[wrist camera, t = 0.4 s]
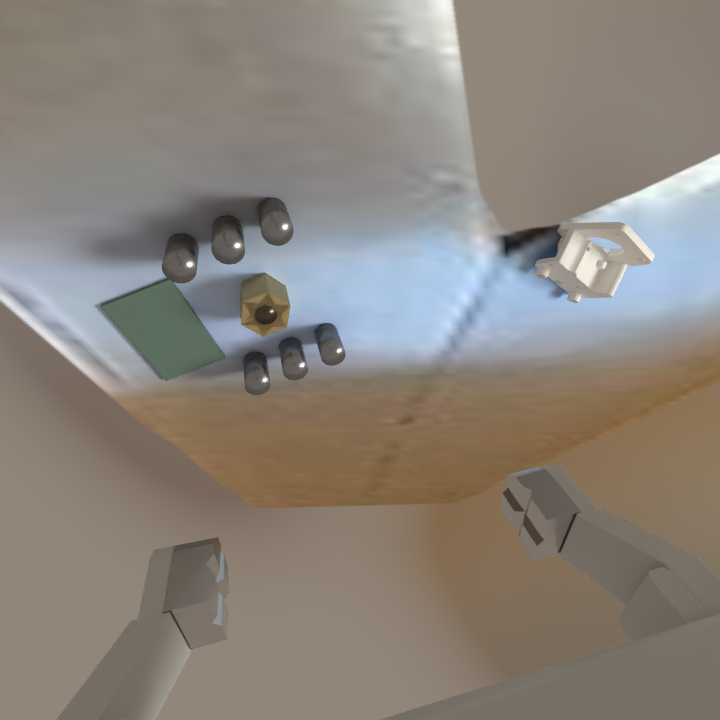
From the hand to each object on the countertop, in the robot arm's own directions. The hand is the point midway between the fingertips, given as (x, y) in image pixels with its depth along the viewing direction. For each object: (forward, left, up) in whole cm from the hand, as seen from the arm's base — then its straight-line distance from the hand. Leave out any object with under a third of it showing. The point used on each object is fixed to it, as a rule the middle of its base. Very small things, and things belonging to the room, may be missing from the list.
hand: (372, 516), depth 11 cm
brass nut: (+13, -6, -38) cm, 41 cm away
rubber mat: (+13, -18, -38) cm, 44 cm away
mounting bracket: (+25, +34, -38) cm, 57 cm away
